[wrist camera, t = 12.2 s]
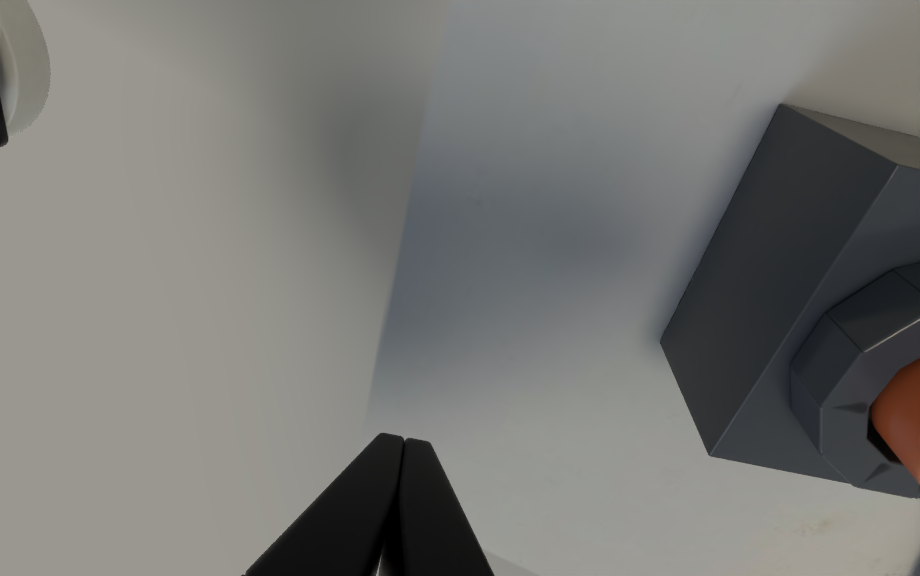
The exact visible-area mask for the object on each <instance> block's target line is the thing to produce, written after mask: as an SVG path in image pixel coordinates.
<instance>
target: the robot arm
mask: <svg viewBox="0 0 920 576" xmlns="http://www.w3.org/2000/svg"><path fill="white" fill-rule="evenodd" d="M7 142H8V133H7V128H6V123H5V118H4V113H3V108H2V103H1V98H0V147H2V146H4V145H6V144H7ZM380 558H381V560H380ZM379 562H380V567H379V576H494V574H493V572H492V569H491V568H490V565H489V563H488V562H487V559H486V557H485V555H484V553H483V551H482V549H481V547H480V545H479V542H478V540H477V538H476V536H475V534H474V532H473V530H472V528H471V526H470V524H469V522H468V520H467V518H466V515H465V513H464V511H463V509H462V507H461V505H460V503H459V501H458V499H457V497H456V495H455V493H454V491H453V488H452V486H451V484H450V482H449V480H448V478H447V476H446V474H445V472H444V470H443V468H442V466H441V463H440V461H439V459H438V457H437V455H436V453H435V451H434V449H433V447H432V445H431V443H430V442H428V441H423V440H418V439H413V438H407V439H406V440H405V442H404V438H403V437H402V436H398V435H392V434H387V433H380V434H379V435H378V436H376V438H375V439H374V440H373V441H372V442H371V443H370V444H369V445H368V446H367V447H366V448H365V449H364V450H363V451H362V452H361V453H360V454H359V455H358V456H357V457H356V458H355V459H354V460H353V461H352V462H351V463H350V464H349V465H348V467H347V468H346V469H345V470H344V471H343V472H342V473H341V474H340V475H339V476H338V477H337V478H336V479H335V480H334V481H333V482H332V483H331V484H330V485H329V486H328V487H327V488H326V489H325V490H324V491H323V492H322V493H321V494H320V495H319V497H318V498H317V499H316V500H315V501H314V502H313V503H312V504H311V505H310V506H309V507H308V508H307V509H306V510H305V511H304V512H303V513H302V514H301V515H300V516H299V517H298V518H297V519H296V520H295V521H294V522H293V524H291V525H290V527H288V529H287V530H286V531H285V532H284V533H283V534H282V535H281V536H280V537H279V538H278V539H277V540H276V541H275V542H274V543H273V544H272V545H271V546H270V547H269V548H268V550H266V551H265V552H264V554H262V555H261V556H260V557H259V558H258V559H257V561H256V562H255V563H254V564H253V565H252V566H251V567H250V568H249V569H248V570H247V571H246V574H245V575H241V576H376V574H377V570H378V566H379Z"/></svg>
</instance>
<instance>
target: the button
mask: <svg viewBox="0 0 920 576" xmlns="http://www.w3.org/2000/svg"><path fill="white" fill-rule="evenodd" d="M871 415H872V422H873V425H874V427H875V429H876V431H877V432H878V434H879V435H880V436H881V437H882V439H883V440H884V441H885V442H886V444H887V445H888V446H889V447H890V449H891V450H892V451H893V452H894V454H895V455H896V456H897V457H898V458H899V460H900V461H901V462H902V463H903V465H904V466H905V467H906V468H907V470H908V471H909V472H910V473H911V475H912V476H913V477H914V478H915V480H916V481H917V482H918V483H919V485H920V358H919V359H918V360H916V361H914V362H912V363H911V364H909V365H907V366H905V367H904V368H902V369H900V370H899V371H898V372H897V374H896V375H895V376H894V377H893V378H892V380H891V381H890V382H889V383H888V385H887V386H886V387H885V388H884V390H883V391H882V392H881V393H880V395H879V396H878V397H877V398H876V399H875V401H874V402H873V404H872V410H871Z"/></svg>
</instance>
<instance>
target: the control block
mask: <svg viewBox="0 0 920 576" xmlns="http://www.w3.org/2000/svg"><path fill="white" fill-rule="evenodd" d="M660 344H661V346H662V349H663V351H664V353H665V356H666V358H667V360H668V363H669V365H670V367H671V370H672V372H673V374H674V376H675V379H676V381H677V383H678V386H679V388H680V390H681V393H682V395H683V397H684V400H685V402H686V404H687V406H688V409H689V411H690V413H691V416H692V418H693V420H694V423H695V425H696V427H697V430H698V432H699V434H700V436H701V439H702V441H703V443H704V446H705V448H706V450H707V453H708V455H709V456H711V457H716V458H722V459H727V460H732V461H737V462H742V463H747V464H752V465H757V466H762V467H767V468H772V469H777V470H782V471H787V472H793V473H798V474H803V475H808V476H813V477H818V478H823V479H828V480H833V481H838V482H843V483H848V484H851V485H852V486H854V487H857V488H862V489H867V490H872V491H877V492H882V493H887V494H892V495H897V496H902V497H908V498H916V499H918V498H920V485H919V483H918V482H917V481H916V480H915V478H914V477H913V476H912V475H911V473H910V472H909V471H908V470H907V468H906V467H905V466H904V465H903V463H902V462H901V461H900V460H899V458H898V457H897V456H896V455H895V454H894V452H893V451H892V450H891V449H890V447H889V446H888V445H887V444H886V442H885V441H884V440H883V439H882V437H881V436H880V435H879V434H878V432H877V431H876V429H875V427H874V425H873V422H872V415H871V410H872V404H873V402H874V401H875V399H876V398H877V397H878V396H879V395H880V393H881V392H882V391H883V390H884V388H885V387H886V386H887V385H888V383H889V382H890V381H891V380H892V378H893V377H894V376H895V375H896V374H897V372H898V371H899V370H900V369H902V368H904V367H905V366H907V365H909V364H911V363H912V362H914V361H916V360H918V359H919V358H920V137H916V136H912V135H908V134H904V133H900V132H896V131H892V130H888V129H884V128H880V127H876V126H872V125H868V124H863V123H859V122H855V121H851V120H847V119H843V118H839V117H835V116H831V115H827V114H823V113H819V112H815V111H811V110H807V109H803V108H799V107H795V106H791V105H787V104H780V105H779V107H778V109H777V111H776V113H775V115H774V117H773V119H772V121H771V123H770V125H769V127H768V129H767V131H766V133H765V135H764V137H763V139H762V141H761V143H760V145H759V147H758V149H757V151H756V153H755V155H754V157H753V159H752V161H751V163H750V165H749V167H748V169H747V171H746V173H745V175H744V177H743V179H742V181H741V183H740V184H739V186H738V188H737V190H736V192H735V194H734V196H733V198H732V200H731V202H730V204H729V206H728V208H727V210H726V212H725V214H724V216H723V218H722V220H721V222H720V224H719V226H718V228H717V230H716V232H715V234H714V236H713V238H712V240H711V242H710V244H709V246H708V248H707V250H706V252H705V254H704V256H703V258H702V260H701V262H700V264H699V266H698V268H697V270H696V272H695V274H694V276H693V278H692V279H691V281H690V283H689V285H688V287H687V289H686V291H685V293H684V295H683V297H682V299H681V301H680V303H679V305H678V307H677V309H676V311H675V313H674V315H673V317H672V319H671V321H670V323H669V325H668V327H667V329H666V331H665V333H664V335H663V337H662V339H661V341H660Z"/></svg>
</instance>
